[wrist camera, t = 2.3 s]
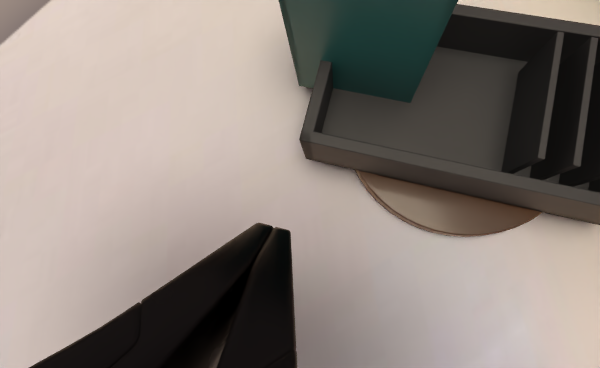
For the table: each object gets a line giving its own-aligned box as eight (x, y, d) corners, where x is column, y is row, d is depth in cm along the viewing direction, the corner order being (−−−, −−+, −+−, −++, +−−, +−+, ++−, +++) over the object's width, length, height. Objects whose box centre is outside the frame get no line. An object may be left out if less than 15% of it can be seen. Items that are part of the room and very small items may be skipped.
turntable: (571, 253, 20) (583, 252, 19) (331, 219, 22) (331, 217, 21) (576, 34, 22) (587, 24, 21) (358, 19, 24) (359, 9, 23)
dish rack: (609, 227, 19) (1028, 183, 7) (280, 153, 21) (212, 35, 10) (628, 75, 20) (1006, -162, 9) (316, 22, 23) (292, -214, 11)
